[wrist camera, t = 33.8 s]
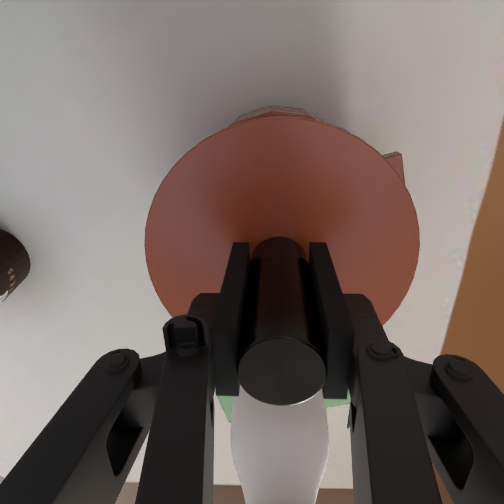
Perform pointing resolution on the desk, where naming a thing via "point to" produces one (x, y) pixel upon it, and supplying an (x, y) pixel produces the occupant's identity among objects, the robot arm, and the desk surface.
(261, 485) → the milk bottle
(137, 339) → the desk surface
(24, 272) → the brown coffee cup
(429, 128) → the desk surface
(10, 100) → the desk surface
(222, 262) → the lid
